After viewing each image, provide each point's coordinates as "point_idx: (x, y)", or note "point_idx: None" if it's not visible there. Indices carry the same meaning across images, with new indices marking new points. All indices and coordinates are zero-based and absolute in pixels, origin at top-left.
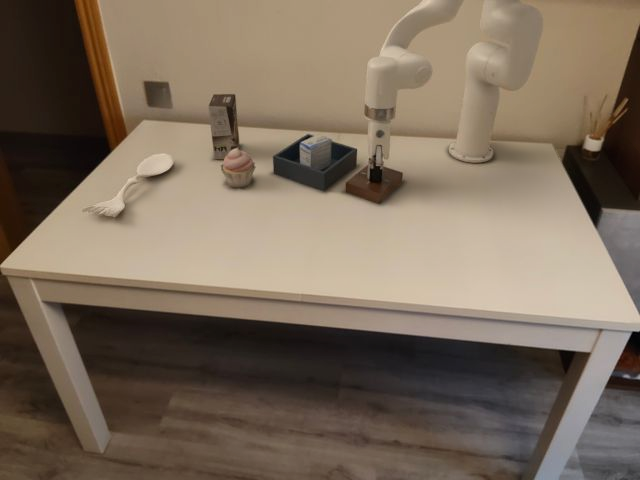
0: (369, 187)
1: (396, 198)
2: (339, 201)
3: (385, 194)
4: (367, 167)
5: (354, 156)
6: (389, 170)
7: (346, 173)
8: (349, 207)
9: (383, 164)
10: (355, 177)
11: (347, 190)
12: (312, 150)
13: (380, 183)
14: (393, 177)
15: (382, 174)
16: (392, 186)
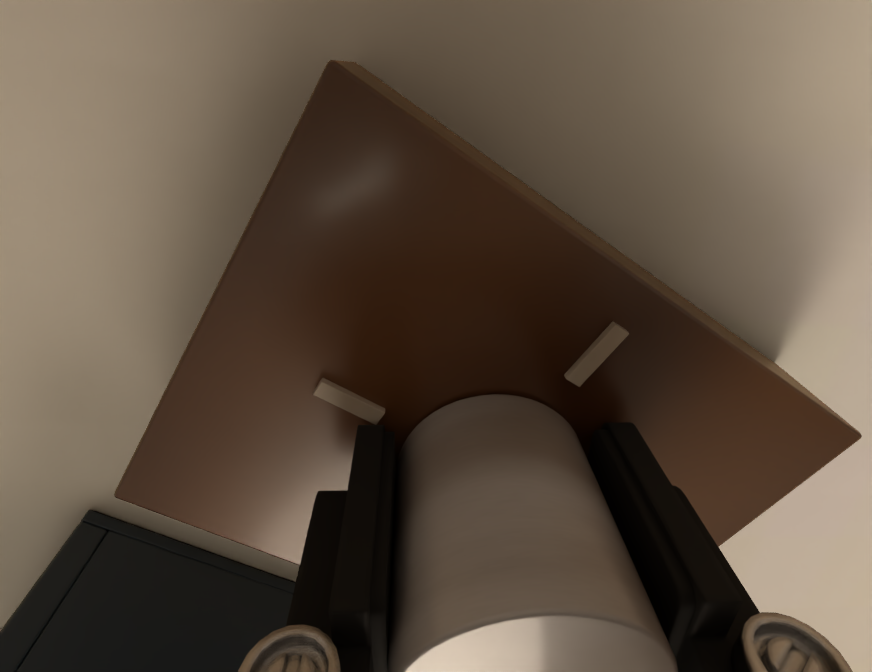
0: (700, 518)
1: (723, 184)
2: None
3: (717, 325)
4: (254, 524)
5: (64, 646)
6: (290, 292)
7: (256, 573)
8: (750, 548)
9: (602, 593)
10: None
11: None
12: None
13: (637, 419)
14: (500, 251)
15: (554, 444)
16: (606, 247)
